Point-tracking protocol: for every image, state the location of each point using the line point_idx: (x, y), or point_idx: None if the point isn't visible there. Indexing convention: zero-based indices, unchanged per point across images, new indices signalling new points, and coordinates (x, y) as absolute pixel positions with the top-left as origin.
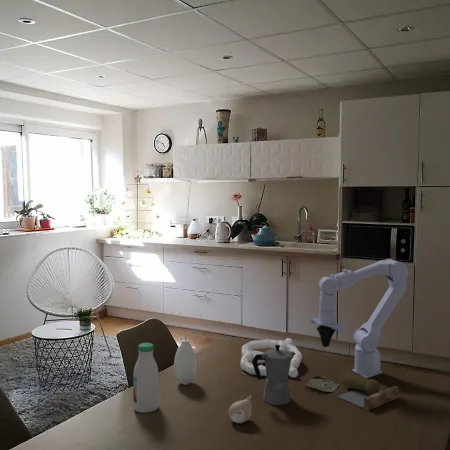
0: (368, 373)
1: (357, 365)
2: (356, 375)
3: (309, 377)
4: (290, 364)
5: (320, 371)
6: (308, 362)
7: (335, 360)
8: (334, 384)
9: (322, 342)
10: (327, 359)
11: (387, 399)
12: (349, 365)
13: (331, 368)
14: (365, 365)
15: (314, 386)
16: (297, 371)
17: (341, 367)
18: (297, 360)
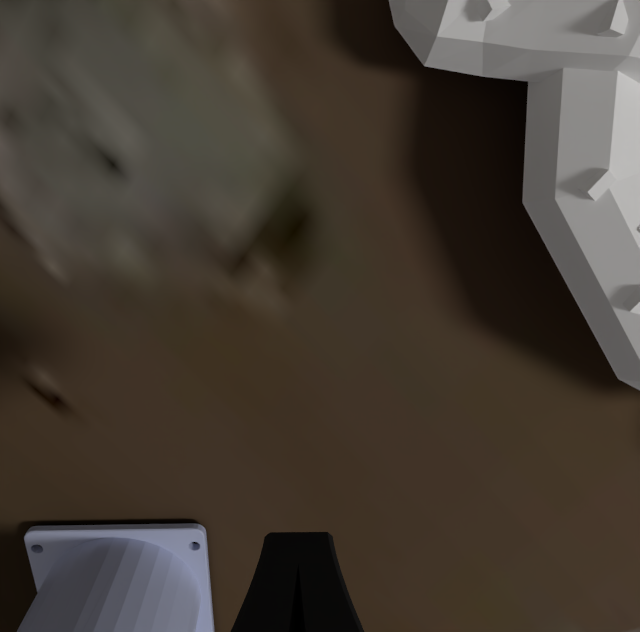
0: (44, 580)
1: (103, 595)
2: None
3: (329, 169)
4: (559, 12)
5: (364, 364)
6: (571, 434)
7: (439, 608)
8: (62, 232)
9: (321, 583)
10: (495, 582)
11: None
12: None
13: (350, 479)
14: (25, 628)
15: (120, 12)
16: (423, 45)
17: None
18: (572, 210)
